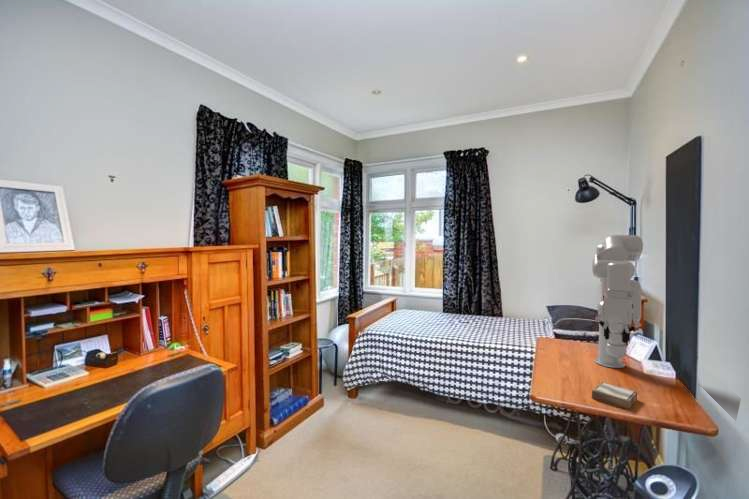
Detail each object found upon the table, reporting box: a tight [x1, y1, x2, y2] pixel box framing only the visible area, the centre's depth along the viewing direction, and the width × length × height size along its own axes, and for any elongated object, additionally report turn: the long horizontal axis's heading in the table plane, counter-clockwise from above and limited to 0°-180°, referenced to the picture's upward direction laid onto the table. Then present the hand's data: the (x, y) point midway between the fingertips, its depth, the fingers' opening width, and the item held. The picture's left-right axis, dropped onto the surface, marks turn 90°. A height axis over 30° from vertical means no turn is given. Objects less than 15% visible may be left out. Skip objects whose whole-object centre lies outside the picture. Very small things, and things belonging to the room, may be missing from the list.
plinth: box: [591, 381, 638, 410], centre depth 138 cm, size 12×12×3 cm
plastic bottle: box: [606, 315, 628, 358], centre depth 137 cm, size 6×7×20 cm
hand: (616, 340), depth 137 cm, fingers closed on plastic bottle, 5 cm apart
